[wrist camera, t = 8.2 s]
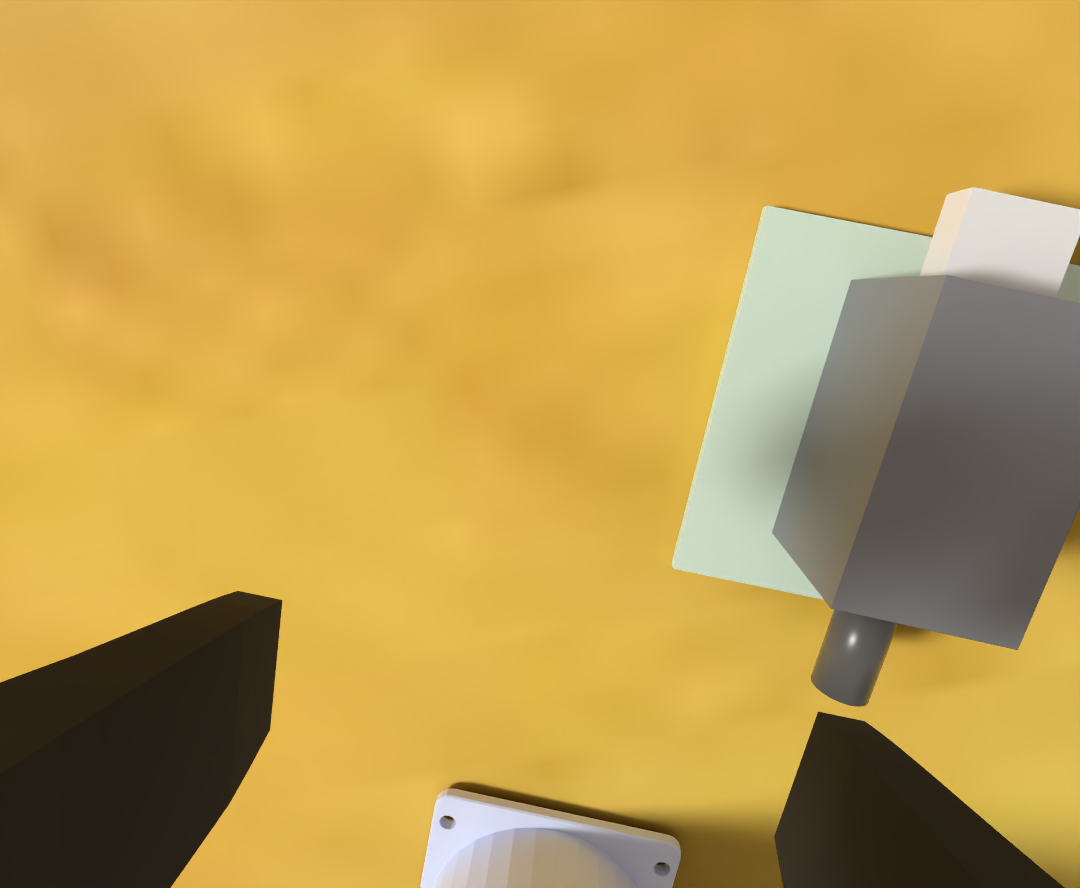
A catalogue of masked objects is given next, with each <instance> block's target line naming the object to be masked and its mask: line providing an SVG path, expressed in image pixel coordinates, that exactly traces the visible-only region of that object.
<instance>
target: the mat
mask: <svg viewBox="0 0 1080 888" xmlns="http://www.w3.org/2000/svg"><path fill="white" fill-rule="evenodd" d="M932 238H933V237H928V236H923V235H918V234H913V233H907V232H902V231H897V230H892V229H887V228H881V227H876V226H871V225H866V224H861V223H855V222H850V221H845V220H840V219H835V218H829V217H824V216H819V215H814V214H808V213H803V212H798V211H793V210H788V209H782V208H777V207H772V206H765V207H763V210H762V214H761V218H760V221H759V225H758V229H757V233H756V237H755V241H754V245H753V249H752V253H751V256H750V260H749V264H748V268H747V272H746V276H745V280H744V284H743V287H742V291H741V295H740V299H739V303H738V307H737V311H736V315H735V318H734V322H733V326H732V330H731V334H730V338H729V342H728V346H727V349H726V353H725V357H724V361H723V365H722V369H721V373H720V377H719V380H718V384H717V388H716V392H715V396H714V400H713V404H712V408H711V412H710V415H709V419H708V423H707V427H706V431H705V435H704V439H703V443H702V446H701V450H700V454H699V458H698V462H697V466H696V470H695V474H694V477H693V481H692V485H691V489H690V493H689V497H688V501H687V505H686V508H685V512H684V516H683V520H682V524H681V528H680V532H679V536H678V539H677V543H676V547H675V551H674V555H673V559H672V566H673V569H678V570H682V571H687V572H692V573H697V574H702V575H707V576H712V577H716V578H721V579H726V580H731V581H736V582H741V583H746V584H750V585H755V586H760V587H765V588H770V589H775V590H780V591H784V592H789V593H794V594H799V595H804V596H809V597H814V598H818V599H823V598H822V596H821V595H820V594H819V592H818V591H817V590H816V589H815V587H814V586H813V585H812V584H811V582H810V581H809V580H808V578H807V577H806V576H805V575H804V573H803V572H802V571H801V569H800V568H799V567H798V566H797V564H796V563H795V562H794V560H793V559H792V558H791V557H790V555H789V554H788V553H787V551H786V550H785V549H784V548H783V546H782V545H781V544H780V542H779V541H778V540H777V539H776V537H775V536H774V535H773V534H772V530H773V527H774V524H775V521H776V518H777V514H778V511H779V508H780V505H781V502H782V498H783V495H784V492H785V489H786V486H787V483H788V479H789V476H790V473H791V470H792V467H793V463H794V460H795V457H796V454H797V451H798V448H799V444H800V441H801V438H802V435H803V432H804V428H805V425H806V422H807V419H808V416H809V412H810V409H811V406H812V403H813V400H814V397H815V393H816V390H817V387H818V384H819V381H820V377H821V374H822V371H823V368H824V365H825V362H826V358H827V355H828V352H829V349H830V346H831V342H832V339H833V336H834V333H835V330H836V326H837V323H838V320H839V317H840V314H841V311H842V307H843V304H844V301H845V298H846V295H847V291H848V288H849V285H850V282H851V280H859V279H877V278H896V277H915V276H920V273H921V270H922V267H923V264H924V261H925V258H926V255H927V252H928V249H929V246H930V243H931V241H932ZM1056 298H1058V299H1063V300H1068V301H1072V302H1077V303H1080V266H1079V265H1074V264H1069V265H1068V267H1067V270H1066V272H1065V275H1064V277H1063V280H1062V283H1061V285H1060V288H1059V290H1058V293H1057V295H1056ZM823 600H824V599H823Z"/></svg>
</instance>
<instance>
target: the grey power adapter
mask: <svg viewBox="0 0 1080 888" xmlns="http://www.w3.org/2000/svg"><path fill="white" fill-rule="evenodd" d="M1079 236H1080V209H1076V208H1071V207H1066V206H1061V205H1056V204H1052V203H1047V202H1042V201H1037V200H1033V199H1028V198H1023V197H1018V196H1014V195H1009V194H1004V193H999V192H994V191H990V190H985V189H980V188H975V187H972V188H968V189H965V190H961V191H957V192H954V193H950V194H947V196H946V199H945V202H944V205H943V208H942V211H941V214H940V217H939V220H938V223H937V226H936V229H935V232H934V235H933V238H932V241H931V243H930V246H929V249H928V252H927V255H926V258H925V261H924V264H923V267H922V270H921V273H920V276H915V277H896V278H877V279H859V280H851V282H850V285H849V288H848V291H847V295H846V298H845V301H844V304H843V307H842V311H841V314H840V317H839V320H838V323H837V326H836V330H835V333H834V336H833V339H832V342H831V346H830V349H829V352H828V355H827V358H826V362H825V365H824V368H823V371H822V374H821V377H820V381H819V384H818V387H817V390H816V393H815V397H814V400H813V403H812V406H811V409H810V412H809V416H808V419H807V422H806V425H805V428H804V432H803V435H802V438H801V441H800V444H799V448H798V451H797V454H796V457H795V460H794V463H793V467H792V470H791V473H790V476H789V479H788V483H787V486H786V489H785V492H784V495H783V498H782V502H781V505H780V508H779V511H778V514H777V518H776V521H775V524H774V527H773V530H772V534H773V535H774V536H775V537H776V539H777V540H778V541H779V542H780V544H781V545H782V546H783V548H784V549H785V550H786V551H787V553H788V554H789V555H790V557H791V558H792V559H793V560H794V562H795V563H796V564H797V566H798V567H799V568H800V569H801V571H802V572H803V573H804V575H805V576H806V577H807V578H808V580H809V581H810V582H811V584H812V585H813V586H814V587H815V589H816V590H817V591H818V592H819V594H820V595H821V596H822V598H823V599H824V600H825V601H826V603H827V604H828V605H829V607H830V608H831V609H834V612H833V615H832V618H831V621H830V624H829V626H828V629H827V632H826V635H825V638H824V641H823V644H822V646H821V649H820V652H819V655H818V658H817V661H816V664H815V666H814V669H813V672H812V675H811V681H812V683H813V684H814V685H815V687H816V688H817V689H819V690H820V691H821V692H822V693H824V694H825V695H827V696H828V697H830V698H832V699H834V700H836V701H838V702H841V703H844V704H847V705H851V706H865V705H867V704H868V702H869V699H870V697H871V694H872V691H873V689H874V686H875V683H876V681H877V678H878V675H879V673H880V670H881V667H882V665H883V662H884V659H885V657H886V654H887V651H888V649H889V646H890V644H891V641H892V638H893V636H894V633H895V630H896V628H897V625H898V623H899V624H903V625H907V626H912V627H916V628H921V629H925V630H930V631H934V632H939V633H943V634H948V635H952V636H957V637H961V638H966V639H970V640H975V641H979V642H984V643H988V644H993V645H997V646H1002V647H1006V648H1011V649H1015V650H1018V648H1019V646H1020V643H1021V641H1022V639H1023V636H1024V634H1025V632H1026V629H1027V627H1028V625H1029V622H1030V620H1031V618H1032V615H1033V613H1034V611H1035V608H1036V606H1037V604H1038V601H1039V599H1040V597H1041V594H1042V592H1043V590H1044V588H1045V585H1046V583H1047V581H1048V578H1049V576H1050V574H1051V571H1052V569H1053V567H1054V564H1055V562H1056V560H1057V557H1058V555H1059V553H1060V550H1061V548H1062V546H1063V543H1064V541H1065V539H1066V536H1067V534H1068V532H1069V529H1070V527H1071V525H1072V522H1073V520H1074V518H1075V516H1076V513H1077V511H1078V509H1079V506H1080V303H1077V302H1072V301H1068V300H1063V299H1058V298H1056V295H1057V293H1058V290H1059V288H1060V285H1061V283H1062V280H1063V277H1064V275H1065V272H1066V270H1067V267H1068V265H1069V262H1070V259H1071V257H1072V254H1073V252H1074V249H1075V247H1076V244H1077V241H1078V239H1079Z"/></svg>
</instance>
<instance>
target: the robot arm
mask: <svg viewBox="0 0 1080 888" xmlns="http://www.w3.org/2000/svg"><path fill="white" fill-rule="evenodd" d="M281 608H282V600H279V599H274V598H269V597H264V596H260V595H255V594H250V593H245V592H240V591H236V592H233V593H230V594H227V595H224V596H221V597H218V598H216V599H213V600H210V601H208V602H205V603H202V604H200V605H197V606H195V607H192V608H190V609H187V610H185V611H183V612H180V613H178V614H175V615H173V616H170V617H168V618H165V619H163V620H161V621H158V622H156V623H153V624H151V625H148V626H146V627H143V628H141V629H138V630H136V631H134V632H131V633H129V634H126V635H124V636H121V637H119V638H116V639H114V640H111V641H109V642H106V643H104V644H101V645H99V646H96V647H94V648H91V649H89V650H86V651H84V652H82V653H79V654H76V655H74V656H71V657H69V658H66V659H63V660H61V661H58V662H55V663H52V664H50V665H47V666H44V667H41V668H39V669H36V670H33V671H31V672H28V673H25V674H22V675H20V676H17V677H14V678H12V679H9V680H6V681H3V682H1V683H0V888H170V887H171V886H172V885H173V883H174V882H175V880H176V879H177V878H178V876H179V875H180V873H181V872H182V871H183V869H184V868H185V866H186V865H187V864H188V862H189V861H190V859H191V858H192V856H193V855H194V854H195V852H196V851H197V849H198V848H199V846H200V845H201V844H202V842H203V841H204V839H205V838H206V836H207V835H208V834H209V832H210V831H211V829H212V828H213V827H214V825H215V824H216V822H217V821H218V819H219V818H220V816H221V815H222V814H223V812H224V811H225V809H226V808H227V806H228V805H229V803H230V802H231V800H232V798H233V796H234V795H235V793H236V791H237V789H238V787H239V786H240V784H241V782H242V780H243V779H244V777H245V775H246V773H247V772H248V770H249V768H250V766H251V764H252V762H253V760H254V759H255V757H256V755H257V753H258V751H259V749H260V747H261V745H262V744H263V742H264V740H265V738H266V736H267V734H268V732H269V731H270V724H271V713H272V703H273V692H274V682H275V671H276V661H277V650H278V639H279V629H280V618H281ZM444 816H451V817H453V818H454V819H453V820H449V819H446V818H445V817H444ZM774 837H775V843H776V848H777V854H778V860H779V865H780V871H781V876H782V882H783V887H784V888H1064V887H1063V886H1062V885H1061V884H1059V883H1058V882H1057V881H1056V880H1054V879H1053V878H1052V877H1051V876H1050V875H1048V874H1047V873H1046V872H1045V871H1044V870H1042V869H1041V868H1040V867H1039V866H1038V865H1036V864H1035V863H1034V862H1033V861H1032V860H1031V859H1029V858H1028V857H1027V856H1026V855H1025V854H1023V853H1022V852H1021V851H1020V850H1019V849H1017V848H1016V847H1015V846H1014V845H1013V844H1012V843H1010V842H1009V841H1008V840H1007V839H1006V838H1005V837H1003V836H1002V835H1001V834H1000V833H999V832H998V831H996V830H995V829H994V828H993V827H992V826H991V825H989V824H988V823H987V822H986V821H985V820H984V819H982V818H981V817H980V816H979V815H978V814H977V813H975V812H974V811H973V810H972V809H971V808H970V807H968V806H967V805H966V804H965V803H964V802H963V801H961V800H960V799H959V798H958V797H957V796H956V795H954V794H953V793H952V792H951V791H950V790H949V789H947V788H946V787H945V786H944V785H943V784H942V783H941V782H939V781H938V780H937V779H936V778H935V777H934V776H932V775H931V774H930V773H929V772H928V771H926V770H925V769H924V768H923V767H922V766H921V765H919V764H918V763H917V762H916V761H915V760H913V759H912V758H911V757H910V756H909V755H907V754H906V753H905V752H904V751H903V750H901V749H900V748H899V747H898V746H897V745H895V744H894V743H893V742H892V741H890V740H889V739H888V738H887V737H885V736H884V735H883V734H881V733H880V732H879V731H877V730H876V729H875V728H873V727H872V726H870V725H869V724H868V723H866V722H865V721H860V720H856V719H851V718H846V717H841V716H836V715H832V714H827V713H822V712H818V714H817V717H816V720H815V722H814V725H813V728H812V731H811V734H810V737H809V740H808V742H807V745H806V748H805V751H804V754H803V757H802V759H801V762H800V765H799V768H798V771H797V774H796V777H795V779H794V782H793V785H792V788H791V791H790V794H789V796H788V799H787V802H786V805H785V808H784V811H783V814H782V816H781V819H780V822H779V825H778V828H777V831H776V833H775V836H774ZM680 860H681V850H680V845H679V843H678V841H677V840H676V839H675V838H674V837H673V836H670V835H667V834H663V833H658V832H653V831H649V830H644V829H639V828H635V827H630V826H626V825H621V824H616V823H612V822H607V821H602V820H598V819H593V818H588V817H584V816H579V815H575V814H570V813H565V812H561V811H556V810H551V809H547V808H542V807H537V806H533V805H528V804H524V803H519V802H514V801H510V800H505V799H500V798H496V797H491V796H486V795H482V794H477V793H472V792H468V791H463V790H459V789H452V788H448V789H445V790H443V791H442V792H440V793H439V795H438V797H437V800H436V804H435V808H434V814H433V819H432V825H431V830H430V836H429V841H428V847H427V852H426V858H425V863H424V869H423V874H422V880H421V885H420V888H672V887H673V883H674V880H675V877H676V873H677V870H678V866H679V863H680ZM659 862H664V863H666V864H664V865H657V863H659Z"/></svg>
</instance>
